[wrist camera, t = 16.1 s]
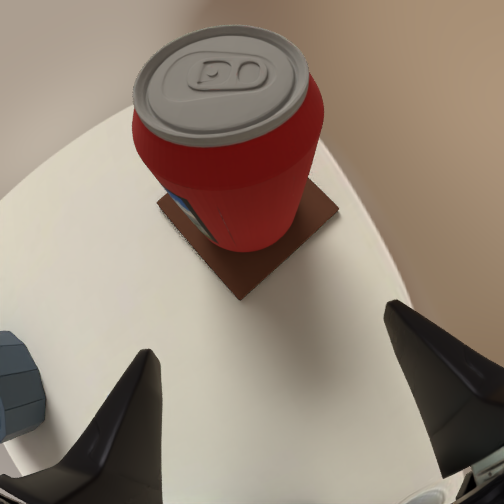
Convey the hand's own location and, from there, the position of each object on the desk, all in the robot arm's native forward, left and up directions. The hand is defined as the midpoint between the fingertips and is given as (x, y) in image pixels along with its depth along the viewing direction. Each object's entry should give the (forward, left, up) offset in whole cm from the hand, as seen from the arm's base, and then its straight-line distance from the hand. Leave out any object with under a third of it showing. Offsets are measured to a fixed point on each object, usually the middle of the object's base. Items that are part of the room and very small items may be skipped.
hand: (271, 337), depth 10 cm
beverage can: (+7, -4, -8) cm, 11 cm away
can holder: (+10, +23, -8) cm, 27 cm away
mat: (+7, -4, -8) cm, 11 cm away
